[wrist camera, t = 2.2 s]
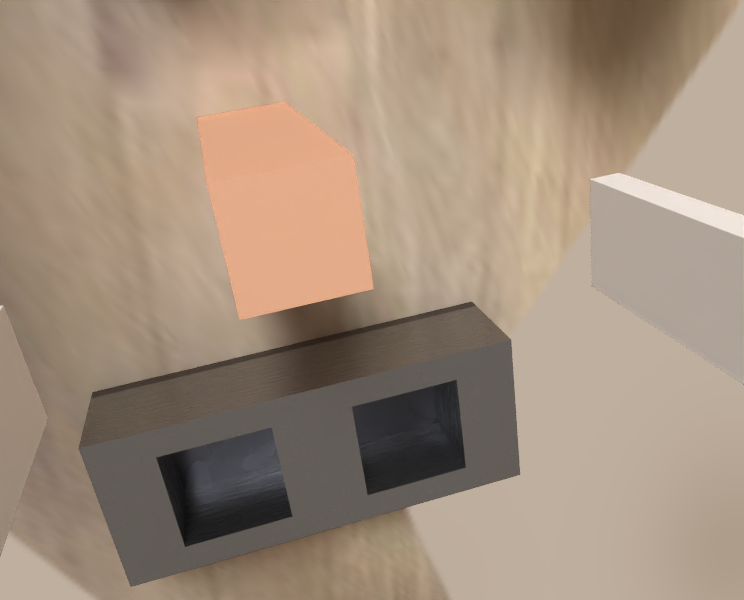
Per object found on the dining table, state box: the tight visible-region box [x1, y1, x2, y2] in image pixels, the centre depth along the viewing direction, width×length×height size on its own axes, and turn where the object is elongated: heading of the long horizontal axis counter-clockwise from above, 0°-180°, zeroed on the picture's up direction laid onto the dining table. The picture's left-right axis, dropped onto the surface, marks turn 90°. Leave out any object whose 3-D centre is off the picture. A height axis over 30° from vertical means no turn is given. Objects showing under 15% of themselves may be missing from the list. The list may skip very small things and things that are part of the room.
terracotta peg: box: [197, 102, 374, 320], centre depth 26 cm, size 4×4×14 cm
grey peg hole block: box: [79, 302, 520, 587], centre depth 35 cm, size 20×8×5 cm, turn 98°
